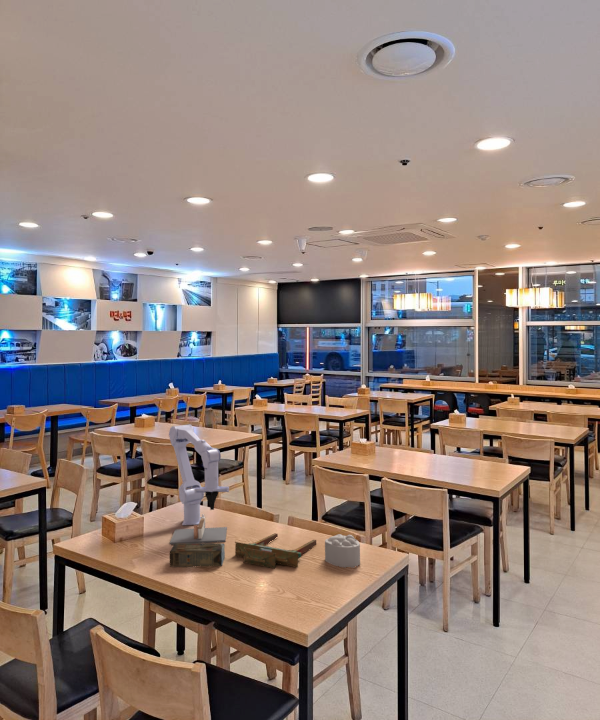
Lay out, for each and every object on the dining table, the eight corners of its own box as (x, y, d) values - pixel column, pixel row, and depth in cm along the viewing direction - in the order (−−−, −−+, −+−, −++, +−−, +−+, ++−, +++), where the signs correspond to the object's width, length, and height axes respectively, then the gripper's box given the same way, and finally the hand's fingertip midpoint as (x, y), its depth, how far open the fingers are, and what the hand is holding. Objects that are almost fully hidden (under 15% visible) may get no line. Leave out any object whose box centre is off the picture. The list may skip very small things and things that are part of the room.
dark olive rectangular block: (222, 567, 194) (222, 548, 194) (168, 568, 193) (168, 550, 193) (225, 558, 202) (224, 540, 202) (173, 559, 201) (173, 542, 201)
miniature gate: (325, 537, 212) (288, 558, 186) (325, 551, 212) (288, 574, 185) (266, 527, 225) (223, 546, 198) (266, 541, 225) (223, 561, 198)
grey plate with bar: (175, 531, 232) (174, 515, 232) (227, 528, 234) (226, 513, 234) (169, 544, 217) (169, 527, 216) (225, 541, 219) (225, 525, 218)
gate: (201, 528, 232) (201, 516, 232) (205, 528, 233) (205, 516, 232) (197, 539, 219) (197, 526, 219) (202, 539, 219) (201, 526, 219)
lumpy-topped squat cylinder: (341, 552, 205) (340, 529, 205) (367, 562, 195) (366, 538, 195) (321, 560, 198) (320, 536, 198) (347, 570, 188) (347, 545, 188)
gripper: (193, 480, 227) (194, 512, 227) (228, 479, 228) (229, 511, 228) (195, 476, 234) (195, 507, 234) (228, 475, 235) (229, 506, 235)
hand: (212, 509), depth 232 cm, fingers closed
